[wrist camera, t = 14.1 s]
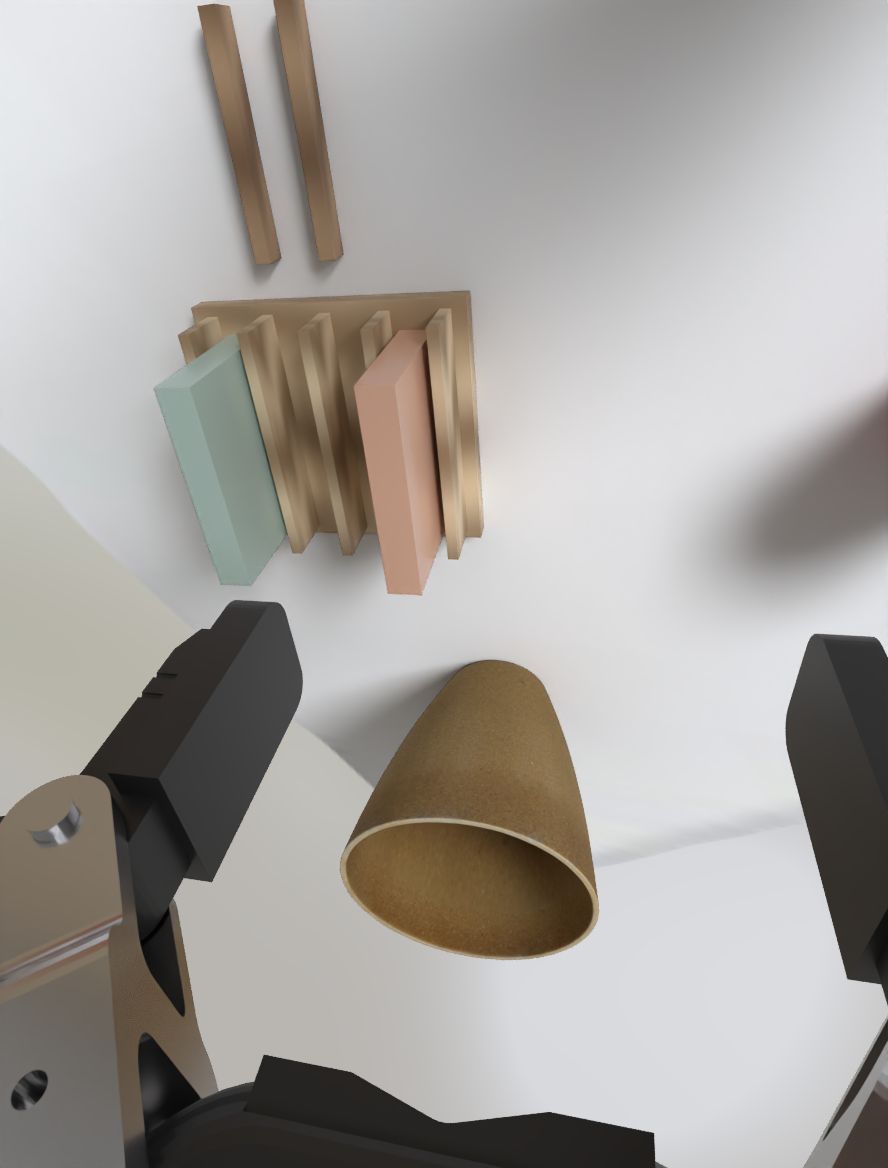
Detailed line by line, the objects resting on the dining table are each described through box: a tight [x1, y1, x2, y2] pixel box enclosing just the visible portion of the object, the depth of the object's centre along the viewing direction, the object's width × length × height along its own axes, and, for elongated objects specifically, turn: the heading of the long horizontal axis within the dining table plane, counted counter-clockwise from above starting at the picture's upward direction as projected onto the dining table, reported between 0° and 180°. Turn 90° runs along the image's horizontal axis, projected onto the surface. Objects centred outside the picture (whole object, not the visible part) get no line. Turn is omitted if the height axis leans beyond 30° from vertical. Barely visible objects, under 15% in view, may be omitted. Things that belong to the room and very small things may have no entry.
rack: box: [178, 291, 484, 560], centre depth 38 cm, size 14×15×4 cm
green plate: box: [154, 334, 288, 586], centre depth 37 cm, size 11×2×8 cm, turn 5°
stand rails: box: [197, 0, 343, 265], centre depth 32 cm, size 10×4×1 cm, turn 5°
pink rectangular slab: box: [354, 329, 445, 595], centre depth 35 cm, size 11×2×8 cm, turn 5°
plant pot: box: [340, 660, 599, 960], centre depth 45 cm, size 15×15×16 cm
